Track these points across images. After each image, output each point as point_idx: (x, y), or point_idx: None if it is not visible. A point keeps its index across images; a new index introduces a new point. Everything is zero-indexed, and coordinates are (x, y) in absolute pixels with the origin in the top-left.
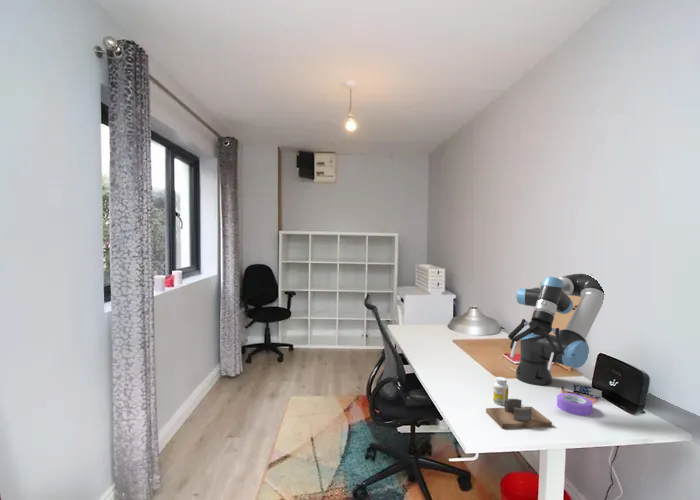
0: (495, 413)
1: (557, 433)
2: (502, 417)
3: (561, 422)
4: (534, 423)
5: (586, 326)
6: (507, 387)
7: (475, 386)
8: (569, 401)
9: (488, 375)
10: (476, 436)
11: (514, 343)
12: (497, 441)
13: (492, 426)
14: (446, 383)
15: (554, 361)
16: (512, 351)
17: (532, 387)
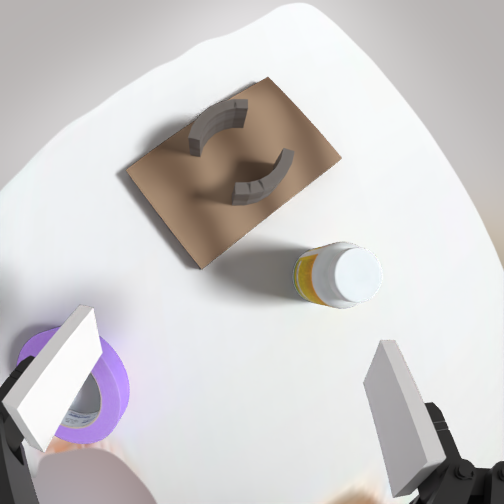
0: (305, 133)
1: (115, 138)
2: (278, 116)
3: (101, 227)
4: (178, 132)
5: None
6: (314, 266)
7: (414, 366)
8: (93, 415)
9: (386, 484)
10: (307, 31)
11: (432, 436)
12: (259, 28)
13: (291, 84)
14: (479, 322)
15: (30, 358)
16: (402, 372)
17: (236, 489)
